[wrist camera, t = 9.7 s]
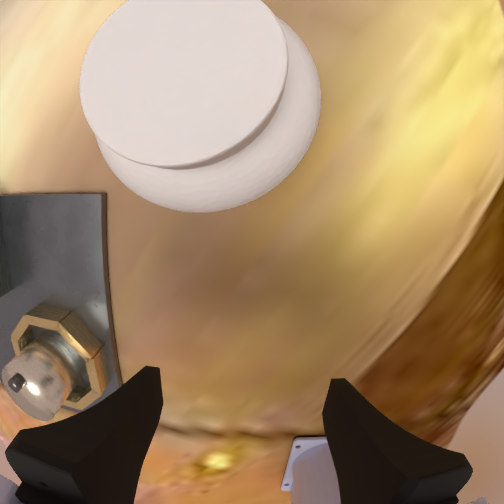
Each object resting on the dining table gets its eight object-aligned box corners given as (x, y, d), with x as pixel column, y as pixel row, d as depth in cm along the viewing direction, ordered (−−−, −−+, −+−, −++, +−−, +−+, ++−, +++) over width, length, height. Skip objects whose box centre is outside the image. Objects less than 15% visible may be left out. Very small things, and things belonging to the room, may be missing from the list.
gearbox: (129, 419, 24) (110, 463, 19) (5, 381, 24) (-22, 409, 18) (106, 193, 19) (59, 203, 14) (-31, 196, 19) (-75, 206, 13)
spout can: (93, 382, 22) (58, 436, 16) (48, 372, 22) (9, 417, 15) (80, 331, 21) (34, 381, 14) (34, 323, 21) (-15, 364, 14)
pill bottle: (310, 116, 18) (410, 28, 5) (249, 215, 20) (242, 302, 7) (208, 60, 17) (146, -78, 4) (148, 157, 19) (-5, 149, 6)
